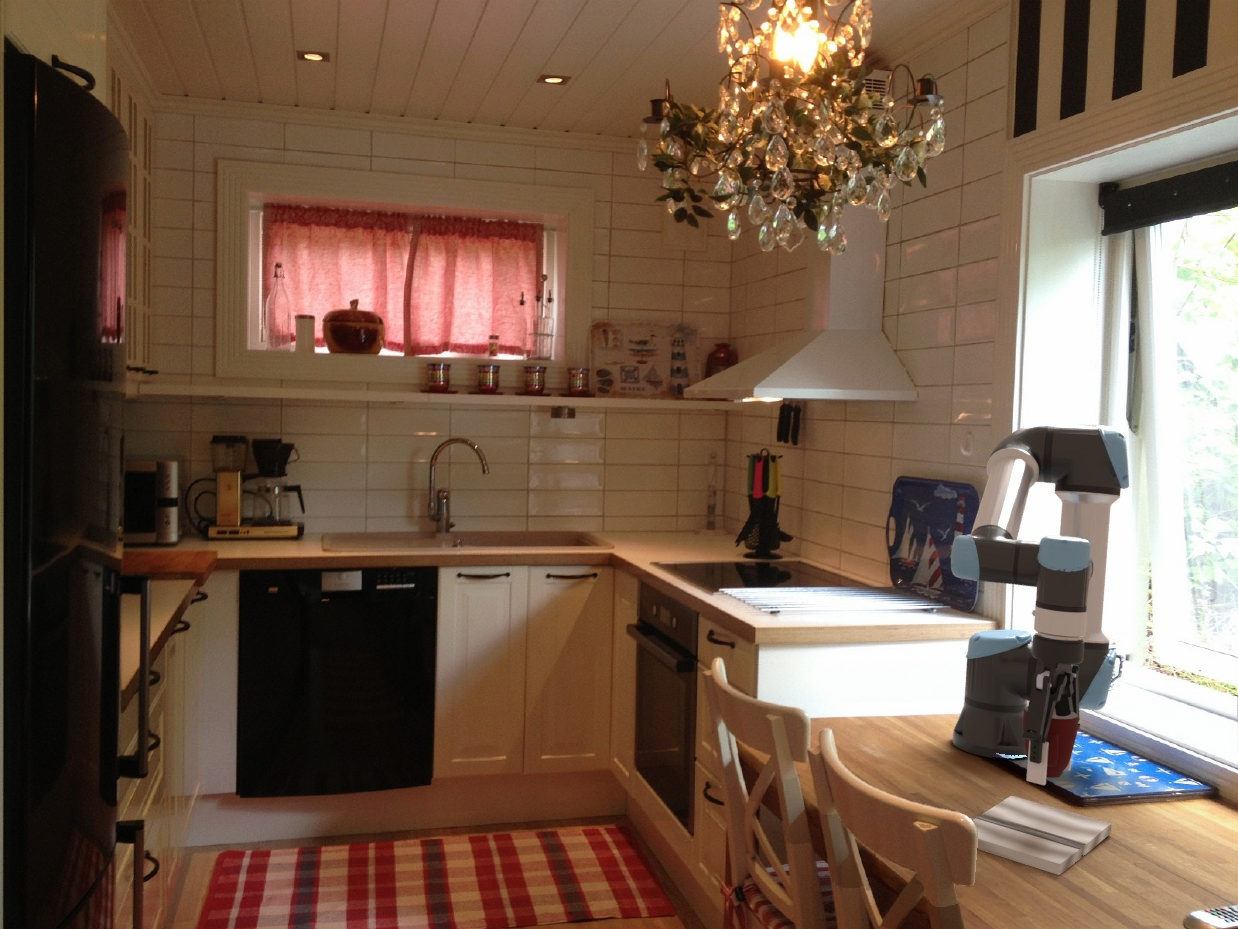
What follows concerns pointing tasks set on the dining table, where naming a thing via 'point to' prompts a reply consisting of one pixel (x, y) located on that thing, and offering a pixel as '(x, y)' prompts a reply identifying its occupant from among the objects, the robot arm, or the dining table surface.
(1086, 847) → the plank
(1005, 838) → the laid board
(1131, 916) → the dining table surface
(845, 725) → the dining table surface
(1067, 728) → the mug
